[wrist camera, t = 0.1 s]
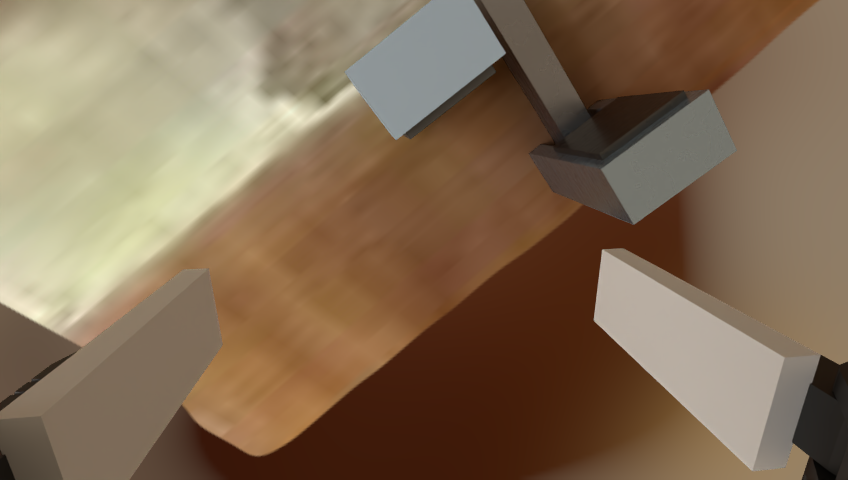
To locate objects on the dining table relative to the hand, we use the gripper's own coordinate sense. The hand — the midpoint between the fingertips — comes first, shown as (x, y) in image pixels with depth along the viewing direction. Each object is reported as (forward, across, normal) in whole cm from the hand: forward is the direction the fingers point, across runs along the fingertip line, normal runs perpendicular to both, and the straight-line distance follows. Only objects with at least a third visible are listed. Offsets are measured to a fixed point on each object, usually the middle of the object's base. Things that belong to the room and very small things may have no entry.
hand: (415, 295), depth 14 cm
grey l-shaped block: (+28, +14, +10) cm, 33 cm away
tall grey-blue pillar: (+28, +2, +9) cm, 29 cm away
